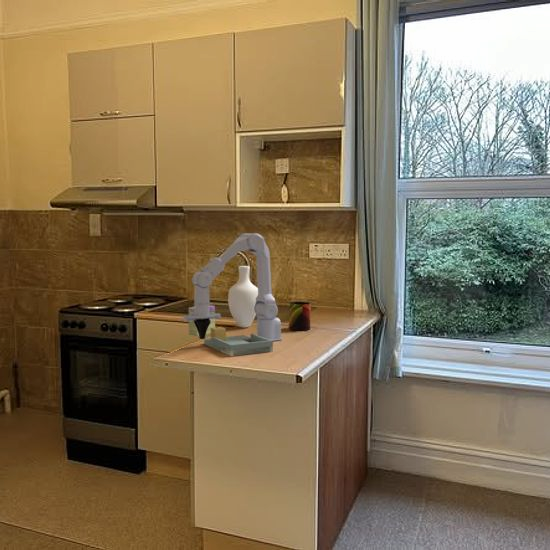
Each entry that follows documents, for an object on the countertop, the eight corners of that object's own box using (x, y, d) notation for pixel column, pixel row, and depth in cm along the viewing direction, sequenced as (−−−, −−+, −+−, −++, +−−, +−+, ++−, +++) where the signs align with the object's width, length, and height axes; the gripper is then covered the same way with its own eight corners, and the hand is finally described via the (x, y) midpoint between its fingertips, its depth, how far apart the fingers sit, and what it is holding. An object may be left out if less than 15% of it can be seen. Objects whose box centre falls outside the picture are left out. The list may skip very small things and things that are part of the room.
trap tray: (243, 339, 225) (243, 329, 225) (272, 351, 204) (272, 340, 204) (204, 343, 217) (204, 333, 217) (230, 356, 196) (230, 345, 196)
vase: (229, 324, 261) (229, 265, 259) (259, 324, 261) (259, 265, 259) (227, 330, 247) (227, 267, 244) (259, 330, 247) (259, 267, 245)
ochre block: (221, 338, 218) (221, 326, 218) (225, 340, 214) (225, 328, 214) (210, 339, 216) (210, 327, 215) (215, 341, 212) (215, 329, 212)
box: (206, 331, 243) (206, 304, 242) (215, 333, 240) (215, 305, 239) (188, 334, 235) (188, 307, 234) (197, 336, 232) (197, 308, 231)
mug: (305, 325, 259) (305, 300, 258) (312, 331, 245) (313, 304, 244) (284, 326, 257) (285, 300, 256) (291, 331, 243) (291, 304, 242)
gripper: (215, 300, 217) (215, 335, 219) (180, 303, 210) (180, 338, 211) (222, 303, 211) (222, 338, 213) (186, 305, 204) (186, 341, 205)
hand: (202, 338), depth 212 cm, fingers closed
